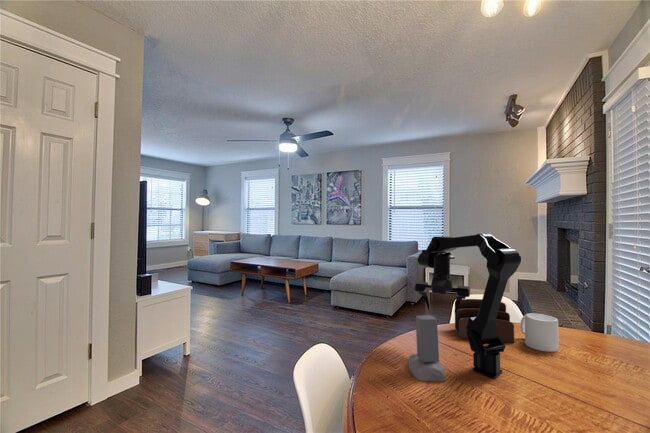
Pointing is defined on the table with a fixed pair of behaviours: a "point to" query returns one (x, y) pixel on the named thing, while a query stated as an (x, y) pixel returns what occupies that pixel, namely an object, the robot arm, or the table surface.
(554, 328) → the mug
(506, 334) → the letter holder
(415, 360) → the stone block
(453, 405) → the table surface
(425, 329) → the pillar
